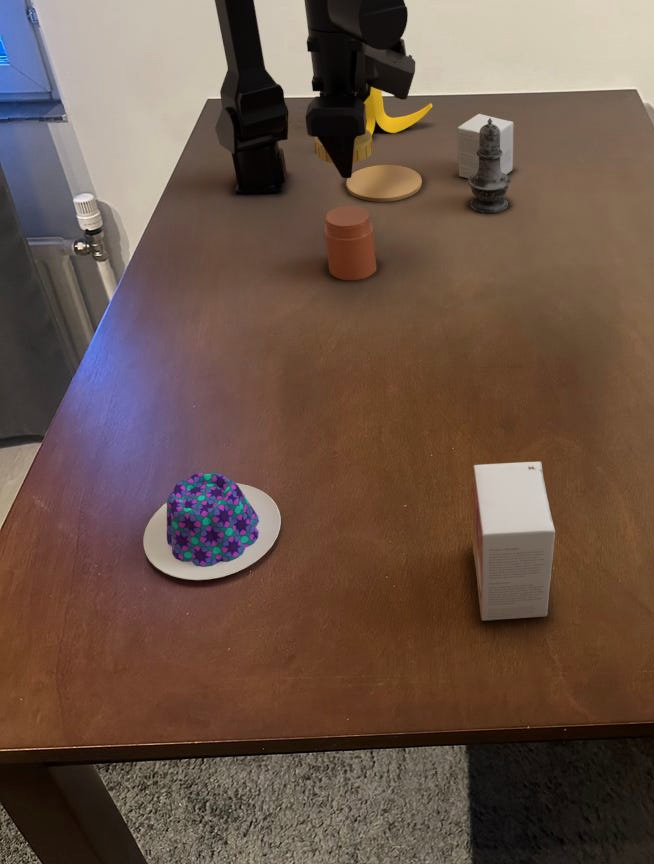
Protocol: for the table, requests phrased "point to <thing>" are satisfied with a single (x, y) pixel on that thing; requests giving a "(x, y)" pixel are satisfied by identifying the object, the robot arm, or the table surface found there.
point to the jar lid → (361, 148)
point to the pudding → (211, 528)
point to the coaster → (384, 183)
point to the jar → (350, 243)
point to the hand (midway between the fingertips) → (348, 165)
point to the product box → (470, 144)
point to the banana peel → (387, 123)
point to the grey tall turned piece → (489, 173)
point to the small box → (512, 540)
